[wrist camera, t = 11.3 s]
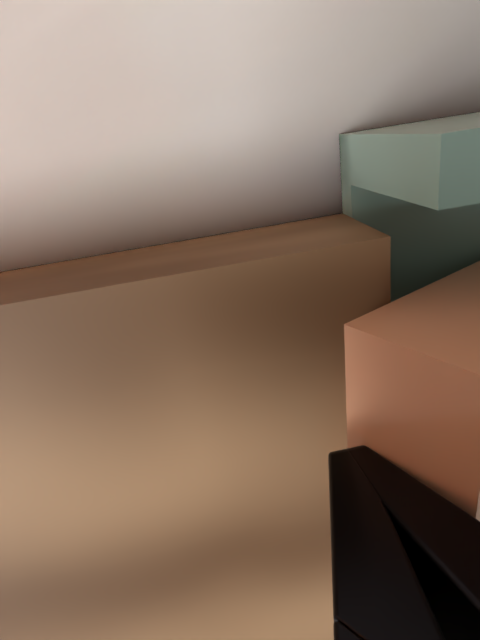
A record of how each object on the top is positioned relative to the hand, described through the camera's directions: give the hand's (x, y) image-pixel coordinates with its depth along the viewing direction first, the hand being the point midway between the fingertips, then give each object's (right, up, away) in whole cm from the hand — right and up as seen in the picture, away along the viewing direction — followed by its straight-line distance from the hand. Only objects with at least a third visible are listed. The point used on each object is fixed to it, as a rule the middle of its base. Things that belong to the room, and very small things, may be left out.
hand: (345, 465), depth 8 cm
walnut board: (-4, -3, +5) cm, 7 cm away
